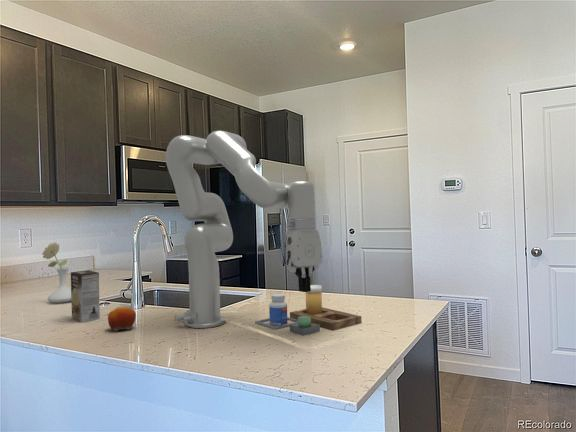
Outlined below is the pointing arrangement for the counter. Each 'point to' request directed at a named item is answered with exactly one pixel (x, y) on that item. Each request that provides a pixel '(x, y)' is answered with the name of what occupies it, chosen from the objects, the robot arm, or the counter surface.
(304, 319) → the button
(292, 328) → the button housing
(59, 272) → the flower in vase
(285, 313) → the pill bottle
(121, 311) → the fruit
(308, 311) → the seated bottle
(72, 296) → the coffee box
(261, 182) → the robot arm
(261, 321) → the gray square frame
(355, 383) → the counter surface
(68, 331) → the counter surface
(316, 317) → the wooden bottle holder
